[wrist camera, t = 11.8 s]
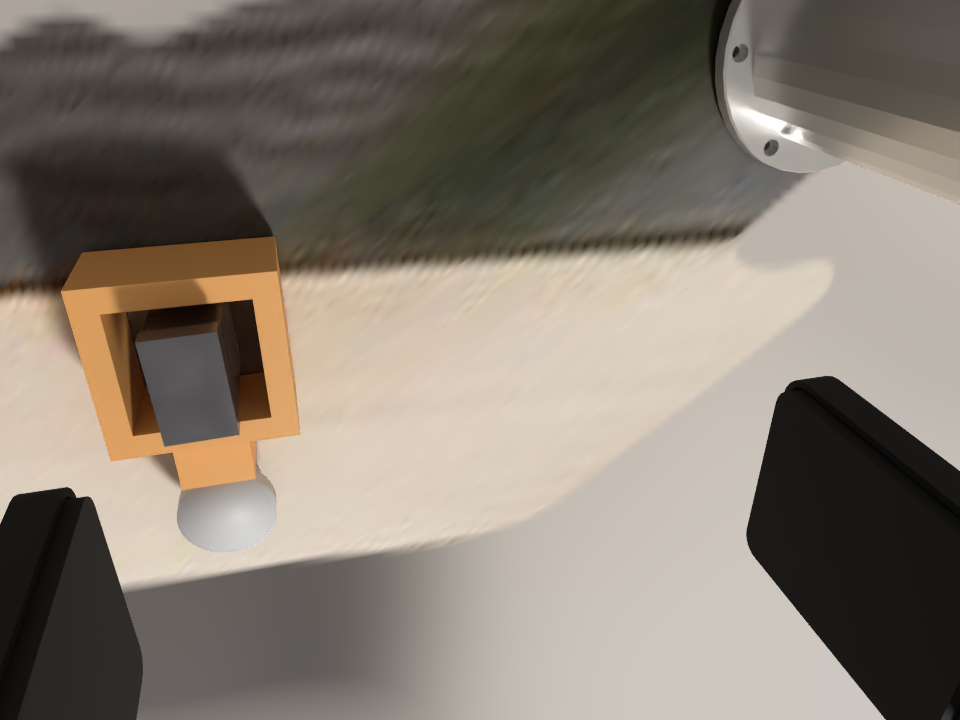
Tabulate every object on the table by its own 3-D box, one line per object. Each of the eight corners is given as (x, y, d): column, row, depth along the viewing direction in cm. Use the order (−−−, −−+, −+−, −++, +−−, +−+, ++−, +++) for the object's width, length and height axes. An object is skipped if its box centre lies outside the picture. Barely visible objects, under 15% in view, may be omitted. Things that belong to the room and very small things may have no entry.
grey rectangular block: (222, 273, 37) (217, 332, 31) (241, 365, 39) (239, 435, 34) (153, 281, 36) (135, 342, 30) (177, 374, 39) (164, 446, 33)
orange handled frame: (82, 252, 34) (60, 291, 31) (274, 236, 36) (277, 271, 33) (157, 528, 43) (147, 586, 39) (311, 503, 44) (317, 556, 41)
